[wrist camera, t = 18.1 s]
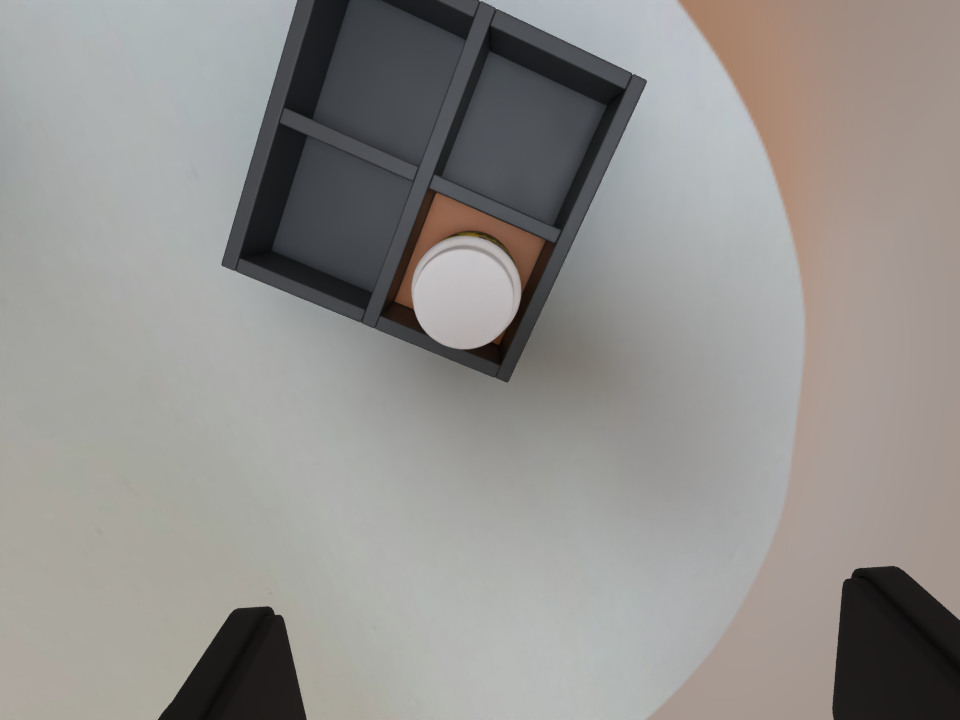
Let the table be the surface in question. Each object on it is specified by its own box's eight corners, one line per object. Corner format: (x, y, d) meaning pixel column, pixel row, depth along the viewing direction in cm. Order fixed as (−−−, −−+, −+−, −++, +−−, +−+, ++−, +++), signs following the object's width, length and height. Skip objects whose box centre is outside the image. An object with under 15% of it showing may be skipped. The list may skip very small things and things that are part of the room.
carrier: (623, 99, 28) (648, 79, 23) (505, 358, 31) (508, 383, 27) (347, -31, 26) (318, -77, 22) (259, 256, 30) (220, 265, 26)
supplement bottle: (526, 243, 29) (541, 258, 21) (501, 328, 30) (506, 373, 22) (438, 218, 29) (418, 224, 21) (416, 304, 30) (390, 342, 22)
